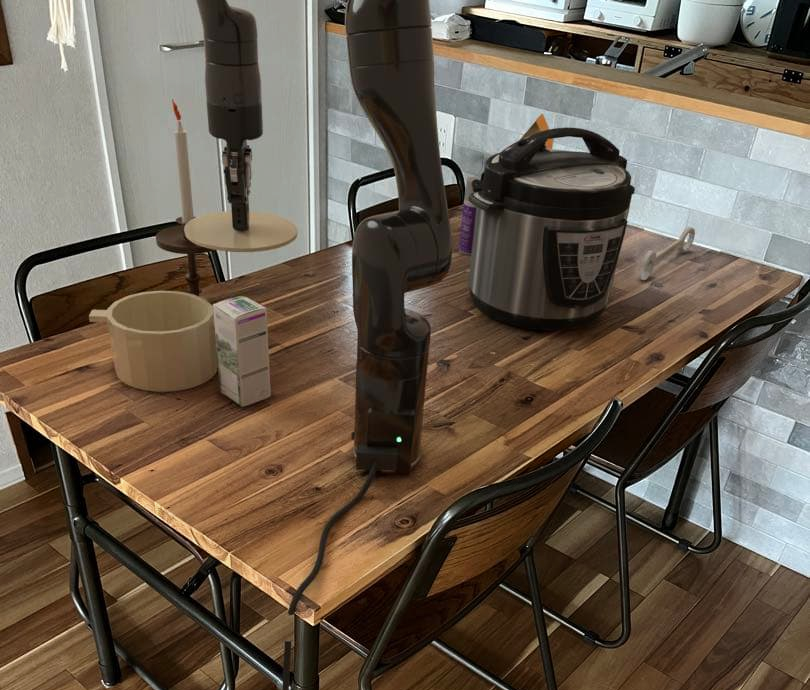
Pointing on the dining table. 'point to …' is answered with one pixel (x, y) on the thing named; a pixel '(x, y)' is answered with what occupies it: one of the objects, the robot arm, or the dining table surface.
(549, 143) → the orange juice
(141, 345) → the pot
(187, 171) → the candlestick
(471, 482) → the dining table surface
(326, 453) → the dining table surface
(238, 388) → the syrup box
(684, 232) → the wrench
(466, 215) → the container
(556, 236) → the pressure cooker
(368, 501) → the dining table surface
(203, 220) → the lid
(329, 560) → the dining table surface
